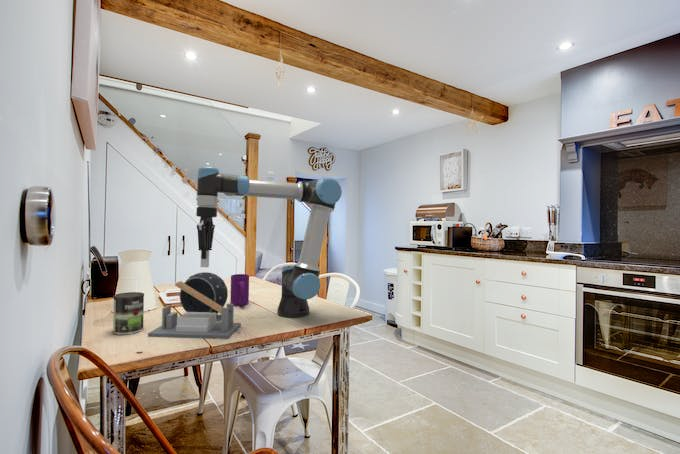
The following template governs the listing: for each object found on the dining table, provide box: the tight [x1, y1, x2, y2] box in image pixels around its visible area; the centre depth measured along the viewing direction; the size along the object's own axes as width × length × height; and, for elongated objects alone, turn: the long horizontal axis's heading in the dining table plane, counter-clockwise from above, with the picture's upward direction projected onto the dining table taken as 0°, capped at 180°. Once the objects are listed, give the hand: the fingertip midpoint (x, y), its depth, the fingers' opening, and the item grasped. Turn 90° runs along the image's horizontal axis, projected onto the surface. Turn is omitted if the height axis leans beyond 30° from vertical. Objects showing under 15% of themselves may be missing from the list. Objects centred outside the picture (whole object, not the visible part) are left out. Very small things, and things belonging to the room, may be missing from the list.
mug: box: [229, 273, 250, 307], centre depth 179 cm, size 9×16×15 cm, turn 24°
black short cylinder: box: [179, 271, 229, 314], centre depth 157 cm, size 11×20×20 cm, turn 78°
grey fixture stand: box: [147, 303, 242, 340], centre depth 138 cm, size 30×16×10 cm, turn 89°
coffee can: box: [112, 291, 145, 336], centre depth 137 cm, size 10×10×14 cm
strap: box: [174, 280, 232, 315], centre depth 138 cm, size 24×4×2 cm
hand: (204, 266), depth 138 cm, fingers closed
